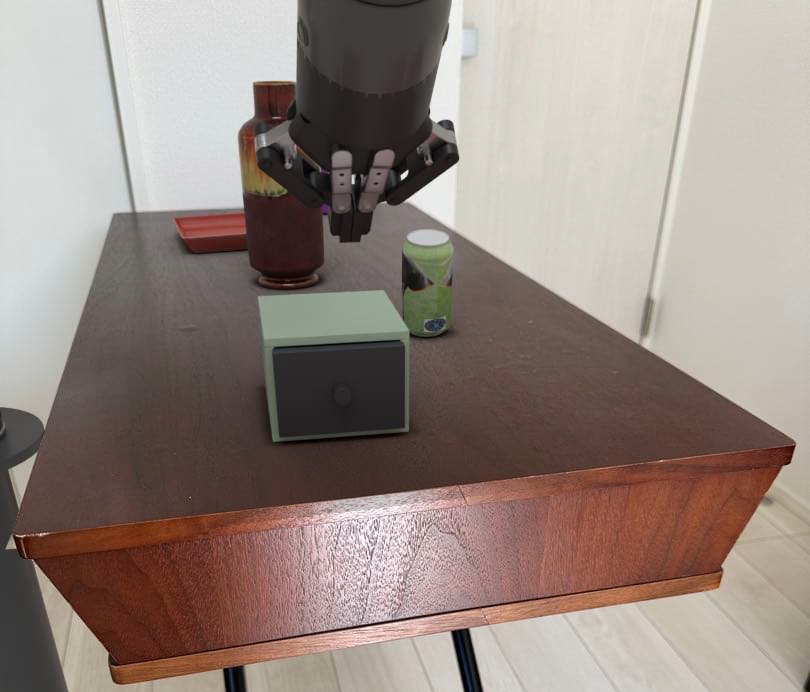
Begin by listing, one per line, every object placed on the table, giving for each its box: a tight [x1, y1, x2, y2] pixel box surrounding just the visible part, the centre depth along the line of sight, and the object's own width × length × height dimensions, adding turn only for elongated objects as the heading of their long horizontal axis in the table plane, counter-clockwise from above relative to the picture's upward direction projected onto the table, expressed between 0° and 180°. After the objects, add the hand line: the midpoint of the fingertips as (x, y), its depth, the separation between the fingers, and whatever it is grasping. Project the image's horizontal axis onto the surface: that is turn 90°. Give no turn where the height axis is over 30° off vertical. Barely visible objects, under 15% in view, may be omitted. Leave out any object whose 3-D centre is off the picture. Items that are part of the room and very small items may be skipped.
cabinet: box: [257, 289, 410, 443], centre depth 80 cm, size 14×13×10 cm
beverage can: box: [401, 228, 455, 338], centre depth 101 cm, size 6×7×12 cm
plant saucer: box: [172, 212, 248, 254], centre depth 147 cm, size 18×18×3 cm
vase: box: [237, 80, 325, 290], centre depth 118 cm, size 11×11×26 cm
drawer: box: [272, 340, 405, 437], centre depth 78 cm, size 14×11×8 cm
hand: (347, 231), depth 59 cm, fingers closed
